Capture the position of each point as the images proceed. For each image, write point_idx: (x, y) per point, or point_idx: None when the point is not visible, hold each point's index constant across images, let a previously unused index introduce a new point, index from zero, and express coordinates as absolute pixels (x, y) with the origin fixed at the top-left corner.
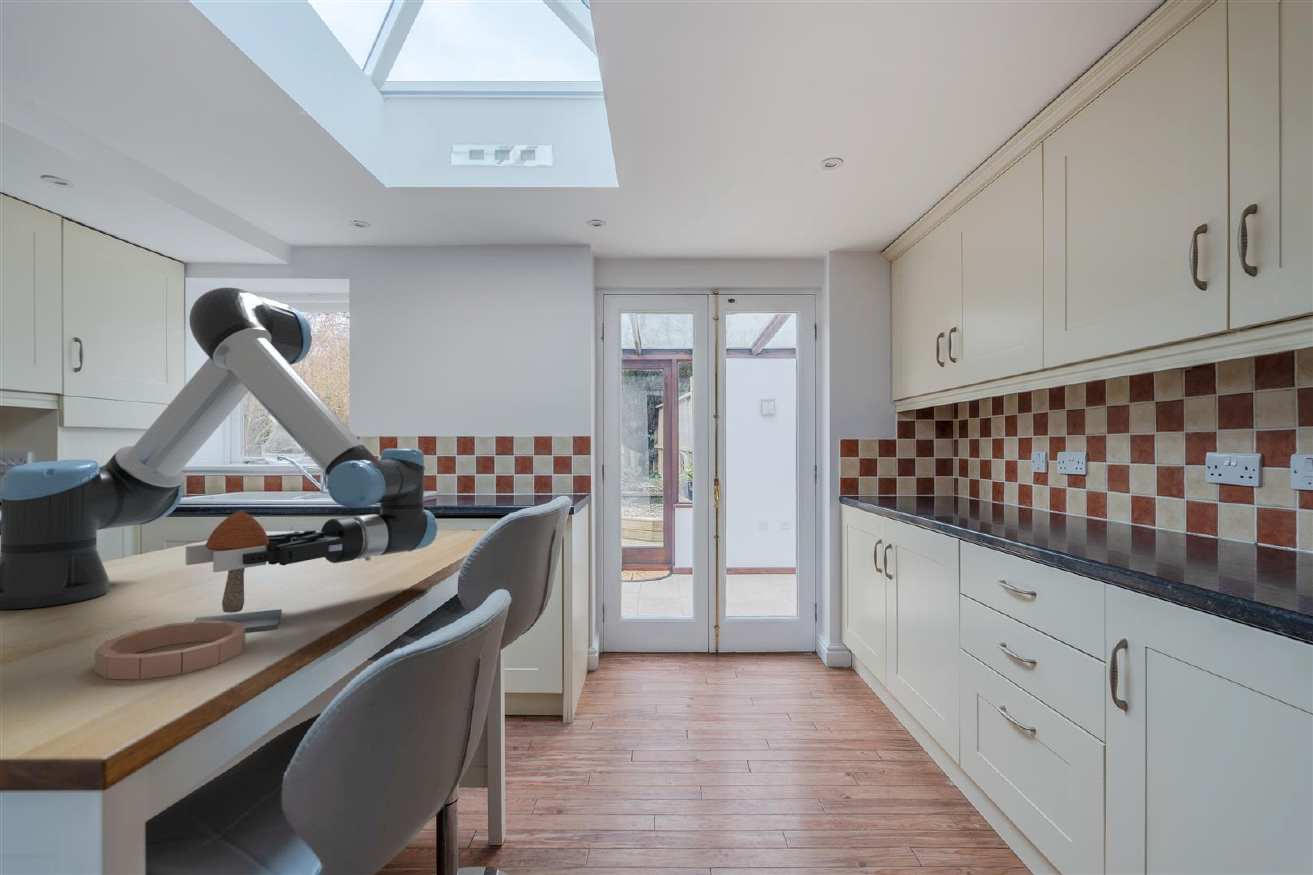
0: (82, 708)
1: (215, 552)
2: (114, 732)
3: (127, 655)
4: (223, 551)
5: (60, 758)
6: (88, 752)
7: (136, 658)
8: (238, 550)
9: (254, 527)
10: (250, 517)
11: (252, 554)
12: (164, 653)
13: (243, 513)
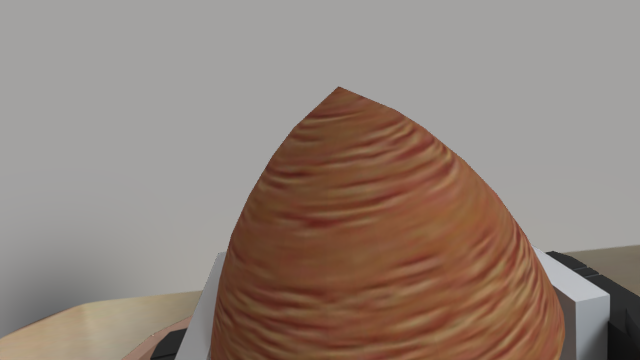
0: (134, 326)
1: (225, 252)
2: (28, 347)
3: (183, 324)
4: (220, 264)
5: (35, 322)
6: (16, 335)
7: (157, 332)
8: (203, 295)
9: (241, 233)
10: (290, 155)
11: (155, 352)
12: (131, 357)
13: (310, 115)
